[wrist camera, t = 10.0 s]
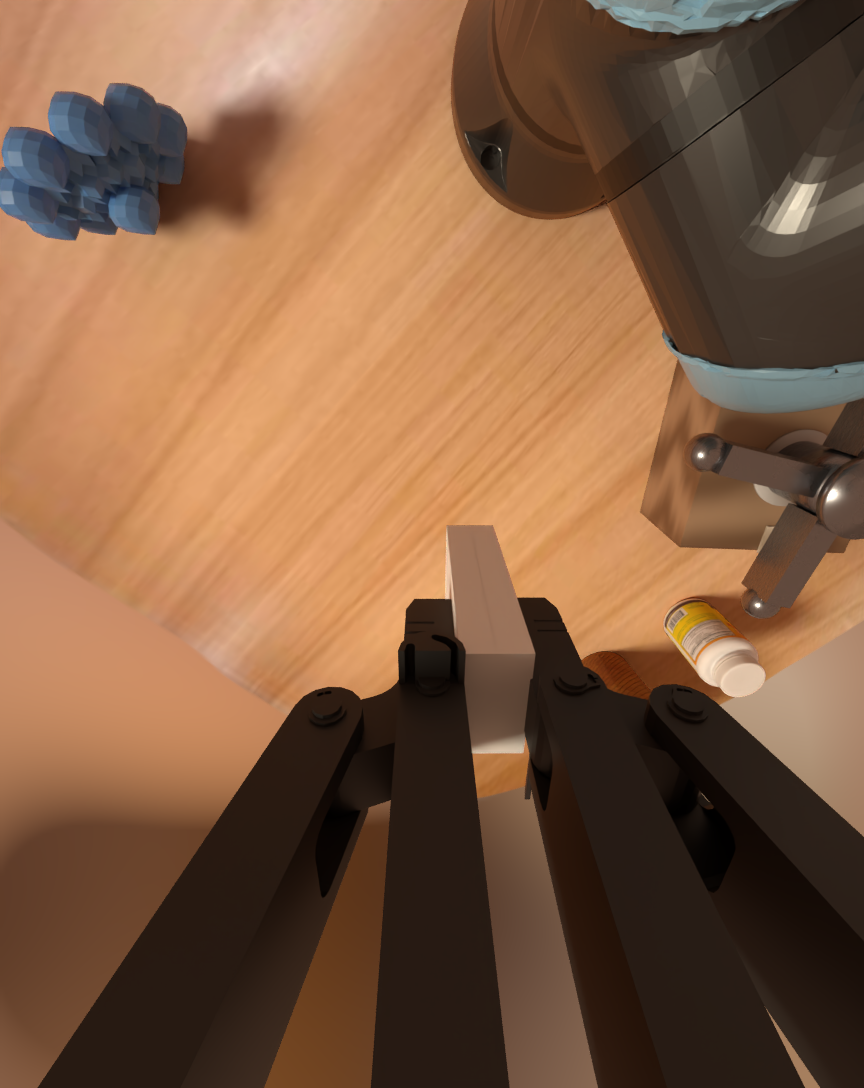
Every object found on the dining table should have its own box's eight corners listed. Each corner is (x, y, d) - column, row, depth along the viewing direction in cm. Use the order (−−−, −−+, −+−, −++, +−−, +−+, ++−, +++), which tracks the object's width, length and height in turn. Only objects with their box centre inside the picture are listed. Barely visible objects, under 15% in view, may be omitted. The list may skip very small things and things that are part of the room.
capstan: (605, 565, 40) (638, 610, 34) (736, 268, 31) (814, 254, 24) (838, 615, 42) (909, 666, 36) (1024, 353, 33) (1161, 360, 27)
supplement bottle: (712, 632, 53) (774, 698, 44) (662, 642, 53) (712, 710, 44) (712, 590, 51) (777, 650, 41) (660, 601, 51) (711, 663, 42)
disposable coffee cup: (612, 624, 52) (661, 704, 41) (657, 674, 55) (714, 761, 44) (542, 671, 55) (571, 757, 44) (589, 716, 58) (627, 808, 47)
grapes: (143, 296, 38) (31, 286, 27) (72, 214, 36) (-81, 167, 25) (248, 195, 36) (169, 139, 25) (179, 99, 33) (58, -11, 22)
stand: (682, 340, 40) (741, 344, 33) (845, 349, 41) (941, 355, 33) (639, 514, 47) (680, 550, 39) (780, 519, 47) (847, 556, 40)
